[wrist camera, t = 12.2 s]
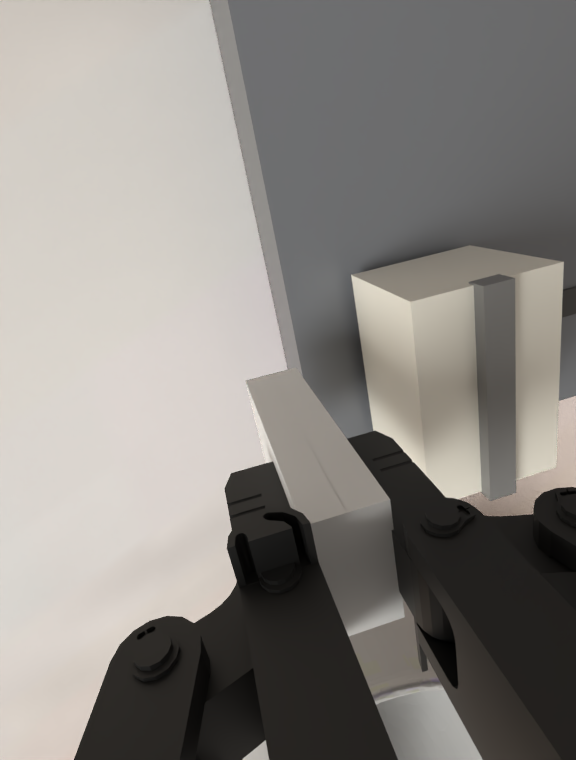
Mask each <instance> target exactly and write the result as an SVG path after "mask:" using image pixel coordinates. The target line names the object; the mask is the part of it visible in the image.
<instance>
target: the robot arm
mask: <svg viewBox="0 0 576 760" xmlns="http://www.w3.org/2000/svg"><path fill="white" fill-rule="evenodd" d="M246 385H247V389H248V393H249V397H250V401H251V406H252V410H253V414H254V418H255V422H256V426H257V430H258V434H259V439H260V443H261V447H262V451H263V455H264V459H265V463H266V464H262V465H259V466H255V467H252V468H248V469H245V470H241V471H238V472H234V473H231V475H230V478H229V480H228V482H227V484H226V487H225V493H226V499H227V504H228V510H229V516H230V521H231V527H232V531H231V533H230V535H229V536H228V544H227V550H228V553H229V556H230V560H231V563H232V566H233V570H234V573H235V576H236V579H237V583H236V586H235V588H234V589H233V591H232V593H231V594H230V596H229V597H228V598H227V599H226V600H225V601H224V602H223V604H222V605H220V606H219V607H218V608H216V609H215V610H214V611H212V612H211V613H210V614H208V615H207V616H205V617H203V618H202V619H200V620H199V621H197V622H196V623H192V622H190V621H189V620H187V619H185V618H183V617H175V616H165V617H162V618H158V619H155V620H151V621H149V622H147V623H146V624H144V625H143V626H141V627H139V628H138V629H136V630H134V631H133V632H132V633H131V634H130V635H129V636H128V637H127V638H126V639H125V640H124V641H123V642H122V643H121V644H120V646H119V647H118V649H117V651H116V653H115V655H114V656H113V658H112V660H111V662H110V664H109V667H108V670H107V672H106V675H105V678H104V681H103V683H102V686H101V689H100V691H99V694H98V697H97V699H96V702H95V705H94V707H93V710H92V713H91V715H90V718H89V721H88V723H87V726H86V729H85V732H84V734H83V737H82V740H81V742H80V745H79V748H78V750H77V753H76V756H75V758H74V760H242V759H243V758H244V757H246V756H247V755H248V754H249V753H251V752H252V751H253V750H254V749H255V748H257V747H258V746H259V745H260V744H262V743H263V742H264V741H265V740H266V745H267V750H268V756H269V760H398V758H397V756H396V753H395V751H394V748H393V746H392V743H391V741H390V738H389V736H388V733H387V731H386V728H385V726H384V723H383V721H382V718H381V716H380V713H379V711H378V708H377V706H376V703H375V701H374V698H373V696H372V693H371V691H370V689H369V686H368V684H367V681H366V679H365V676H364V674H363V671H362V669H361V666H360V664H359V661H358V659H357V656H356V654H355V651H354V649H353V646H352V644H351V641H350V639H349V636H351V635H354V634H357V633H360V632H363V631H366V630H369V629H372V628H375V627H378V626H380V625H383V624H386V623H389V622H392V621H395V620H398V619H401V618H404V617H405V615H404V607H403V599H404V601H405V602H406V604H407V606H408V608H409V609H410V611H411V613H412V615H413V616H414V624H415V633H416V641H417V650H418V659H419V663H420V666H421V670H422V672H425V671H427V670H428V665H427V659H428V661H429V662H430V664H431V666H432V668H433V670H434V671H435V673H436V675H437V677H438V679H439V681H440V682H441V684H442V686H443V688H444V690H445V692H446V693H447V695H448V697H449V699H450V701H451V703H452V704H453V706H454V708H455V710H456V712H457V714H458V715H459V717H460V719H461V721H462V723H463V725H464V726H465V728H466V730H467V732H468V734H469V736H470V737H471V739H472V741H473V743H474V745H475V746H476V748H477V750H478V752H479V754H480V756H481V757H482V759H483V760H576V488H574V487H568V488H555V489H553V490H550V491H547V492H544V493H542V494H541V495H540V496H539V497H538V498H537V499H536V500H535V504H534V513H533V515H518V516H502V517H499V516H484V515H483V514H482V513H481V512H480V511H479V510H477V509H476V508H475V507H473V506H472V505H470V504H469V503H467V502H464V501H461V500H458V499H455V498H447V497H445V496H444V495H443V494H442V493H441V491H440V490H439V489H438V488H437V487H436V486H435V485H434V484H433V483H432V481H431V480H430V479H429V478H428V477H427V476H426V475H425V474H424V473H423V472H422V470H421V469H420V468H419V467H418V466H417V465H416V464H415V463H414V462H412V459H411V458H410V457H409V456H408V455H407V454H406V453H404V452H403V449H402V448H401V447H400V446H399V445H398V444H397V443H396V442H395V441H394V439H393V438H391V437H389V436H386V435H384V434H382V433H380V432H377V431H372V432H368V433H365V434H361V435H358V436H354V437H351V438H346V437H345V436H344V434H343V433H342V431H341V430H340V429H339V427H338V426H337V424H336V423H335V422H334V420H333V419H332V417H331V416H330V415H329V413H328V412H327V410H326V409H325V408H324V406H323V405H322V403H321V402H320V401H319V399H318V398H317V396H316V395H315V394H314V392H313V391H312V389H311V388H310V387H309V385H308V384H307V382H306V381H305V380H304V378H303V377H302V375H301V374H300V373H299V371H298V370H297V368H292V369H288V370H285V371H281V372H277V373H273V374H269V375H265V376H262V377H258V378H254V379H250V380H246ZM402 597H403V599H402Z"/></svg>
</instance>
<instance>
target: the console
mask: <svg viewBox="0 0 576 760" xmlns="http://www.w3.org/2000/svg"><path fill="white" fill-rule="evenodd" d="M209 1H210V5H211V10H212V15H213V19H214V24H215V29H216V33H217V38H218V43H219V48H220V52H221V57H222V62H223V66H224V71H225V76H226V81H227V85H228V90H229V95H230V99H231V104H232V109H233V113H234V118H235V123H236V128H237V132H238V137H239V142H240V146H241V151H242V156H243V161H244V165H245V170H246V175H247V179H248V184H249V189H250V194H251V198H252V203H253V208H254V212H255V217H256V222H257V226H258V231H259V236H260V241H261V245H262V250H263V255H264V259H265V264H266V269H267V274H268V278H269V283H270V288H271V292H272V297H273V302H274V306H275V311H276V316H277V321H278V325H279V330H280V335H281V339H282V344H283V349H284V354H285V358H286V363H287V368H288V369H292V368H297V370H298V371H299V373H300V374H301V375H302V377H303V378H304V380H305V381H306V382H307V384H308V385H309V387H310V388H311V389H312V391H313V392H314V394H315V395H316V396H317V398H318V399H319V401H320V402H321V403H322V405H323V406H324V408H325V409H326V410H327V412H328V413H329V415H330V416H331V417H332V419H333V420H334V422H335V423H336V424H337V426H338V427H339V429H340V430H341V431H342V433H343V434H344V436H345V437H346V438H351V437H354V436H358V435H361V434H365V433H368V432H372V431H373V425H372V418H371V411H370V404H369V397H368V390H367V383H366V376H365V369H364V362H363V355H362V348H361V341H360V333H359V326H358V319H357V312H356V305H355V298H354V291H353V284H352V277H351V275H352V274H356V273H361V272H365V271H369V270H373V269H377V268H381V267H385V266H389V265H393V264H397V263H401V262H405V261H409V260H413V259H417V258H421V257H425V256H429V255H433V254H437V253H441V252H445V251H449V250H453V249H457V248H461V247H465V246H469V245H471V246H477V247H483V248H488V249H494V250H500V251H505V252H511V253H517V254H522V255H528V256H534V257H539V258H545V259H551V260H556V261H562V262H564V270H563V297H562V325H561V352H560V379H559V401H560V400H563V399H566V398H570V397H573V396H576V0H209Z"/></svg>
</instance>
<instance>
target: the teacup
mask: <svg viewBox="0 0 576 760" xmlns="http://www.w3.org/2000/svg"><path fill="white" fill-rule="evenodd" d="M402 599H403V597H402ZM403 607H404V615H405V617H404V618H401V619H398V620H395V621H392V622H389V623H386V624H383V625H380V626H378V627H375V628H372V629H369V630H366V631H363V632H360V633H357V634H354V635H351V636H349V639H350V641H351V644H352V646H353V649H354V651H355V654H356V656H357V659H358V661H359V664H360V666H361V669H362V671H363V674H364V676H365V679H366V681H367V684H368V686H369V689H370V691H371V693H372V696H373V698H374V701H375V703H376V706H377V708H378V711H379V713H380V716H381V718H382V721H383V723H384V726H385V728H386V731H387V733H388V736H389V738H390V741H391V743H392V746H393V748H394V751H395V753H396V756H397V758H398V760H483V759H482V757H481V756H480V754H479V752H478V750H477V748H476V746H475V745H474V743H473V741H472V739H471V737H470V736H469V734H468V732H467V730H466V728H465V726H464V725H463V723H462V721H461V719H460V717H459V715H458V714H457V712H456V710H455V708H454V706H453V704H452V703H451V701H450V699H449V697H448V695H447V693H446V692H445V690H444V688H443V686H442V684H441V682H440V681H439V679H438V677H437V675H436V673H435V671H434V670H433V668H432V666H431V664H430V662H429V661H428V659H427V665H428V670H427V671H425V672H422V670H421V666H420V663H419V659H418V650H417V641H416V633H415V624H414V616H413V615H412V613H411V611H410V609H409V608H408V606H407V604H406V602H405V601H404V599H403ZM242 760H269V756H268V750H267V745H266V740H265V741H264V742H263V743H262V744H260V745H259V746H258V747H257V748H255V749H254V750H253V751H252V752H251V753H249V754H248V755H247V756H246V757H244V758H243V759H242Z"/></svg>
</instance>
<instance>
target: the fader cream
mask: <svg viewBox="0 0 576 760" xmlns="http://www.w3.org/2000/svg"><path fill="white" fill-rule="evenodd" d="M563 270H564V262H562V261H556V260H551V259H545V258H539V257H534V256H528V255H522V254H517V253H511V252H505V251H500V250H494V249H488V248H483V247H477V246H471V245H469V246H465V247H461V248H457V249H453V250H449V251H445V252H441V253H437V254H433V255H429V256H425V257H421V258H417V259H413V260H409V261H405V262H401V263H397V264H393V265H389V266H385V267H381V268H377V269H373V270H369V271H365V272H361V273H356V274H352V275H351V277H352V284H353V291H354V298H355V305H356V312H357V319H358V326H359V333H360V341H361V348H362V355H363V362H364V369H365V376H366V383H367V390H368V397H369V404H370V411H371V418H372V425H373V431H377V432H380V433H382V434H384V435H386V436H389V437H391V438H393V439H394V441H395V442H396V443H397V444H398V445H399V446H400V447H401V448H402V449H403V452H404V453H406V454H407V455H408V456H409V457H410V458H411V459H412V462H414V463H415V464H416V465H417V466H418V467H419V468H420V469H421V470H422V472H423V473H424V474H425V475H426V476H427V477H428V478H429V479H430V480H431V481H432V483H433V484H434V485H435V486H436V487H437V488H438V489H439V490H440V491H441V493H442V494H443V495H444V496H445V497H447V498H455V499H460V498H463V497H466V496H469V495H473V494H476V493H479V492H481V493H482V494H483V495H484V496H485V497H486V498H487V499H489V500H490V501H492V500H495V499H498V498H501V497H504V496H508V495H511V494H514V493H516V480H519V479H522V478H525V477H528V476H531V475H534V474H537V473H540V472H543V471H546V470H550V469H553V468H556V462H557V434H558V407H559V379H560V352H561V325H562V297H563Z"/></svg>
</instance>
